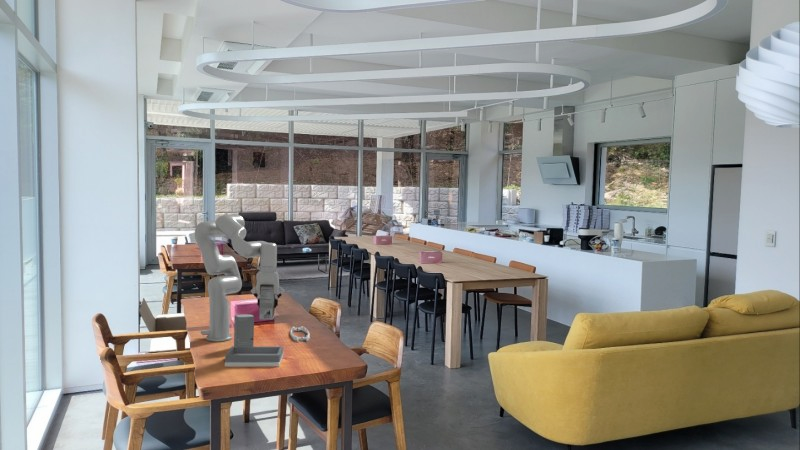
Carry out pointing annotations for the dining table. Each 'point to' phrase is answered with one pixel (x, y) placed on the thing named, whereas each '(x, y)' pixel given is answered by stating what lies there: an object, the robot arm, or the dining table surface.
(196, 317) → the dining table surface
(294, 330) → the grey bumpy ring
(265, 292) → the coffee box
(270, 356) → the grey tray
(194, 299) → the dining table surface
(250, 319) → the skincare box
